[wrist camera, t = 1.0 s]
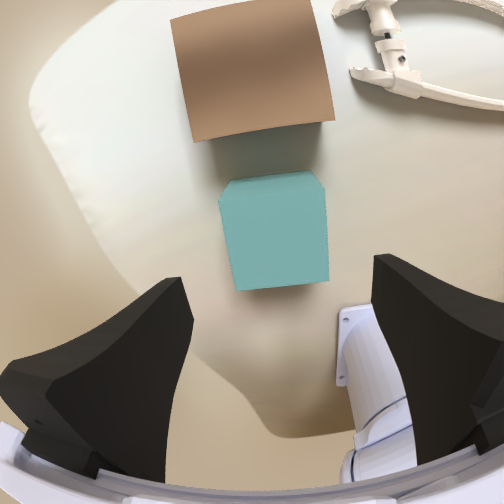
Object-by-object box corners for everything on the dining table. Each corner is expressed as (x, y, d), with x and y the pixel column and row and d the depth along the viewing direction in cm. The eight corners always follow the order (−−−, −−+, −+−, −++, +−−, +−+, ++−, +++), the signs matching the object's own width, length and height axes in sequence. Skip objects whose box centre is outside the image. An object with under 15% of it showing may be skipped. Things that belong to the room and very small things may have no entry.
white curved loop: (562, 117, 13) (357, 115, 16) (543, 26, 9) (318, -17, 12) (580, 121, 10) (372, 115, 14) (560, 25, 6) (326, -35, 10)
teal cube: (316, 242, 20) (329, 280, 15) (243, 251, 20) (236, 290, 16) (310, 170, 18) (324, 188, 13) (230, 179, 18) (217, 201, 14)
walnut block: (321, 120, 16) (335, 120, 13) (209, 137, 17) (193, 142, 14) (300, 18, 13) (308, -5, 10) (189, 37, 14) (169, 19, 11)
